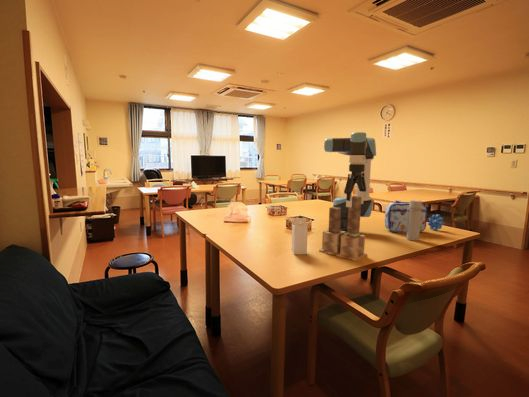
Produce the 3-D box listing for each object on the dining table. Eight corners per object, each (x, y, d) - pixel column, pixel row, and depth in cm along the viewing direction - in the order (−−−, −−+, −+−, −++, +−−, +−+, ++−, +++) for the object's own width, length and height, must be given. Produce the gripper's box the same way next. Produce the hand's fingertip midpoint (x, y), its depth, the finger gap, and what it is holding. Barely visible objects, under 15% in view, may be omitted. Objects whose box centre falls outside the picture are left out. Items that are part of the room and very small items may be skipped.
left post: (327, 248, 157) (328, 207, 154) (331, 246, 161) (333, 206, 157) (335, 250, 154) (337, 209, 151) (339, 248, 157) (341, 207, 154)
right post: (346, 240, 149) (348, 196, 145) (350, 238, 152) (352, 195, 149) (355, 242, 145) (357, 197, 142) (359, 240, 149) (361, 196, 146)
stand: (319, 251, 157) (319, 231, 155) (330, 246, 166) (330, 228, 164) (356, 261, 142) (358, 240, 140) (366, 255, 151) (368, 235, 149)
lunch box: (386, 233, 196) (388, 201, 193) (381, 229, 206) (383, 199, 203) (427, 233, 195) (429, 202, 192) (419, 230, 206) (422, 199, 203)
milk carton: (291, 250, 158) (292, 216, 155) (304, 250, 159) (304, 216, 156) (293, 254, 151) (294, 219, 148) (306, 254, 152) (308, 219, 149)
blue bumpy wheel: (446, 231, 201) (448, 215, 199) (440, 232, 198) (442, 215, 196) (431, 228, 211) (433, 212, 210) (425, 228, 209) (426, 212, 207)
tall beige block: (418, 238, 183) (421, 200, 180) (420, 241, 176) (423, 202, 172) (402, 237, 186) (405, 199, 183) (403, 240, 179) (407, 201, 175)
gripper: (352, 164, 132) (350, 209, 135) (374, 163, 150) (371, 203, 153) (338, 164, 137) (336, 207, 140) (360, 163, 155) (358, 201, 158)
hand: (354, 205), depth 147 cm, fingers open, 13 cm apart
